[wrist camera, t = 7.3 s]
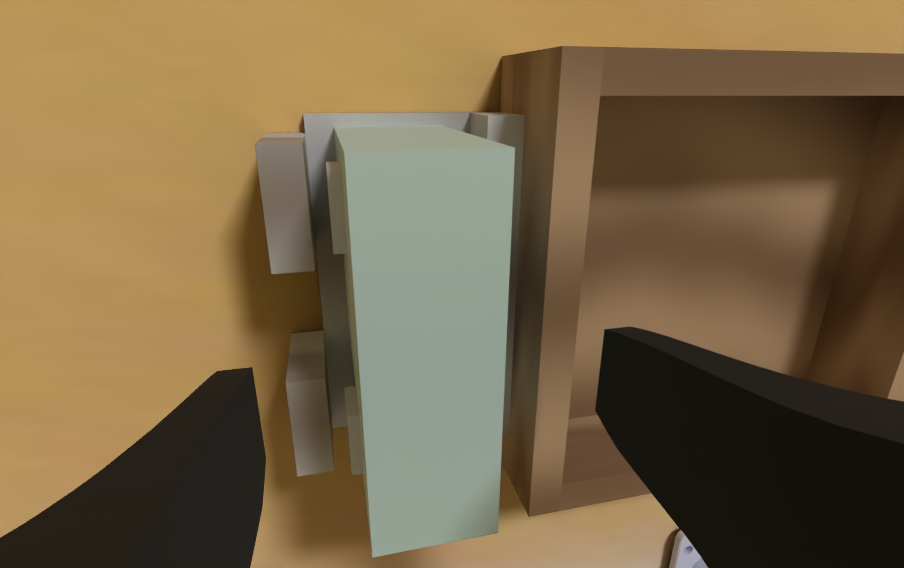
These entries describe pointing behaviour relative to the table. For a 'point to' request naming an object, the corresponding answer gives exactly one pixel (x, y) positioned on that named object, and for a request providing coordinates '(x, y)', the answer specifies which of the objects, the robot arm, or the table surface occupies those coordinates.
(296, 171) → the carcass
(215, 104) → the table surface
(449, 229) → the door
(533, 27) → the table surface
